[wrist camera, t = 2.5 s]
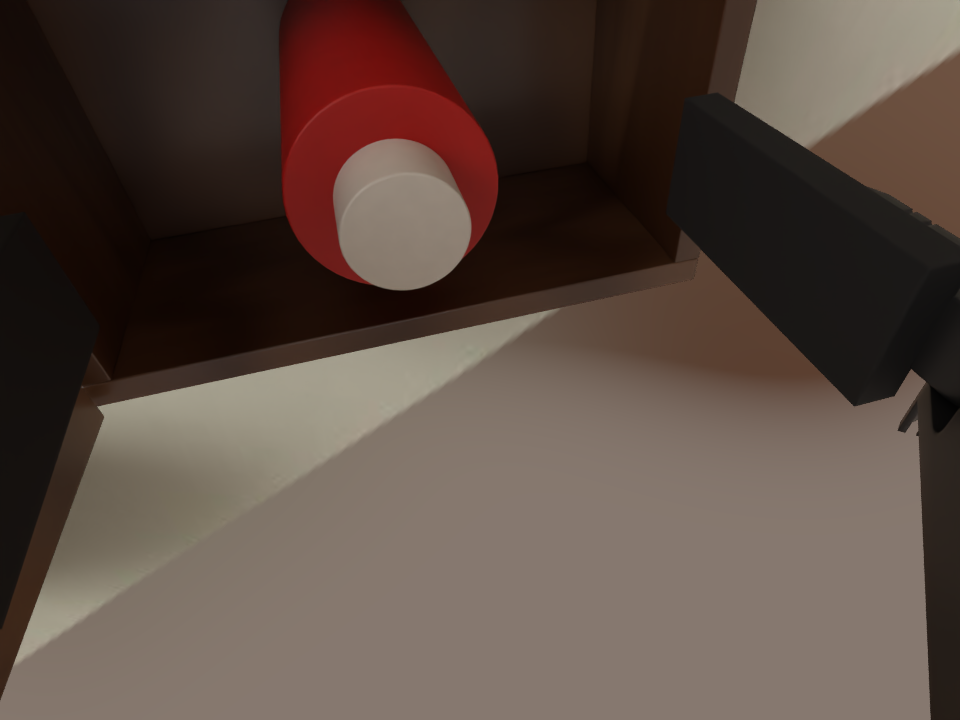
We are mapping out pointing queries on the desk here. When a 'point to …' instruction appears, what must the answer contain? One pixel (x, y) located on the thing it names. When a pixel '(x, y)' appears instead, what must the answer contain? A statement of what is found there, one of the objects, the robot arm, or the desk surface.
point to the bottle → (377, 146)
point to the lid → (49, 526)
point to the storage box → (258, 181)
